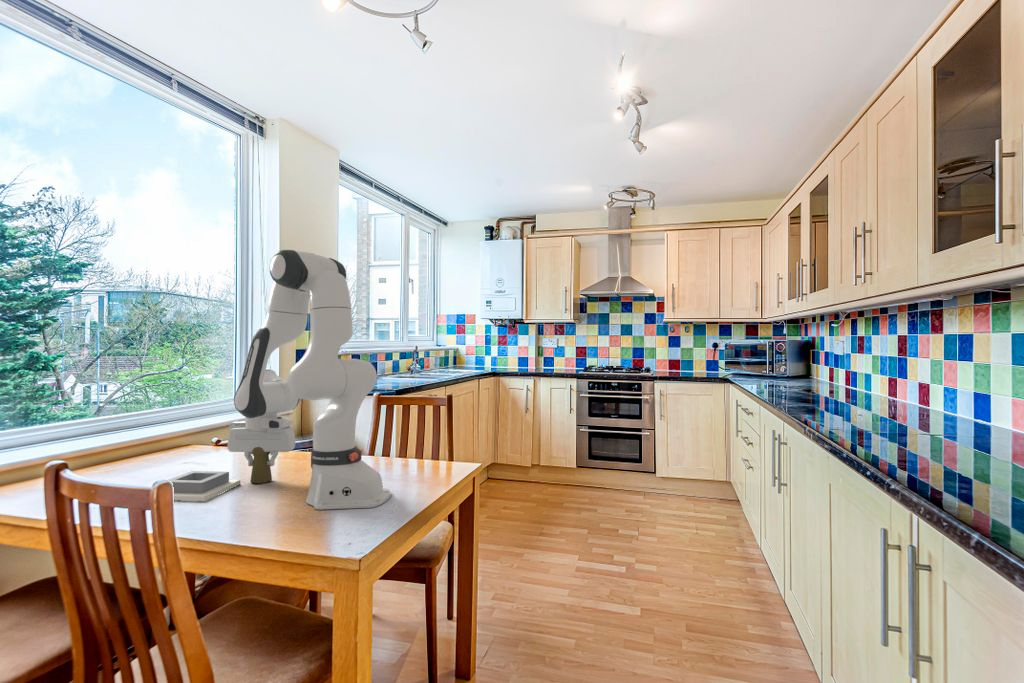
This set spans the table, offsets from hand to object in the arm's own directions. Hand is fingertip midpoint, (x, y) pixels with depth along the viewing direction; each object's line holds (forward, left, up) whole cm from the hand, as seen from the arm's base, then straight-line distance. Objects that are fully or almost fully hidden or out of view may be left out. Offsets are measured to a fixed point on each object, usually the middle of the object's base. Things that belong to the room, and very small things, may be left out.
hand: (261, 465), depth 152 cm
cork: (0, 0, -5) cm, 5 cm away
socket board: (+12, +12, -5) cm, 18 cm away
